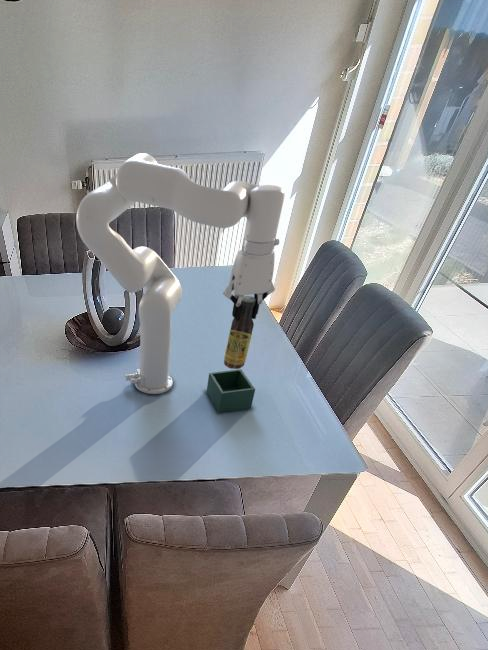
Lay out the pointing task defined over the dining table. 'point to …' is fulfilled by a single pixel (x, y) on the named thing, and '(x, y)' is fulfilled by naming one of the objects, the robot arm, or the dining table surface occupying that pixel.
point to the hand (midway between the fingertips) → (244, 317)
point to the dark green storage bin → (230, 390)
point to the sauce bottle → (240, 335)
